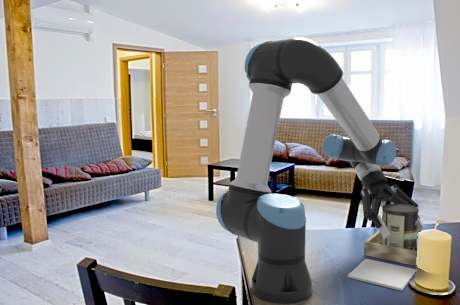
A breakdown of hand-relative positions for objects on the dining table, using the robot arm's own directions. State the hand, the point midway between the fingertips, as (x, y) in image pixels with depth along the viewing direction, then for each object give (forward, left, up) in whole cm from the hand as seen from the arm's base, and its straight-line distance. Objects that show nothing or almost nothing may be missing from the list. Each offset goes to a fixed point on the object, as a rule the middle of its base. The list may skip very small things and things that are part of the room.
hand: (404, 233), depth 128 cm
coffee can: (-2, +1, -7) cm, 7 cm away
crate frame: (-2, +1, -7) cm, 7 cm away
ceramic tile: (-1, -18, -7) cm, 19 cm away
